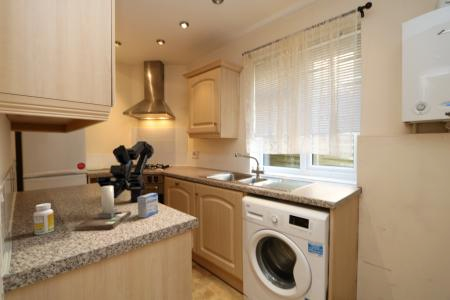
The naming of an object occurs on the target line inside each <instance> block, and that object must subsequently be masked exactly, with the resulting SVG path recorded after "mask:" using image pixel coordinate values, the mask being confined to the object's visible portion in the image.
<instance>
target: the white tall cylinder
mask: <svg viewBox="0 0 450 300" xmlns="http://www.w3.org/2000/svg"><path fill="white" fill-rule="evenodd" d="M100 194H101V196H100V197H101V211H100V212H98V213H97V214H98V215H99V218H112V217H114V216H115V215H117V214H122V212H123V211H118V209H117V208H116V209H115V198H114V188H113V186H103V187H100ZM117 212H119V213H117Z"/></svg>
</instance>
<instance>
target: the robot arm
mask: <svg viewBox="0 0 450 300" xmlns="http://www.w3.org/2000/svg"><path fill="white" fill-rule="evenodd" d="M154 150H155V149H154V147H153V145H151V144H149V143H148V142H147V141H143V140H141V141H137V142H136V144H134V145H133V146H132V147H128V148H126V147H125V145H124V144H120V145H119V146H118V147H115V148H114V149H113V150H112V154H113V156H114V157H115V160H116V162H117V163H119V164H114V165H113V164H112V165H110V169H109V174H111V175H112V177H111V178H109V176H107V175H105V176H104V175H103V176H98V177H97V179H96V183H97V184H98V185H99V187H100V188H101V187H103V186H113V188H114V199H117V198H119V197H120V195H122V193H124V192H125V191H127V192H128V191H129V193H130V199H129V202H130V203H138V199H137V197H140V196H143V192H142V191H143V190H146V182H145V181H144V179H143V178H144V177H143V174H144V171H145V168H146V165H147V162H148V160H149V159H150V158H152V157H153V154H154V152H155V151H154ZM134 161H137V162H136V164H135V165H134ZM133 168H134V170H133V171H132V169H133Z"/></svg>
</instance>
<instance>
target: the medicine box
mask: <svg viewBox="0 0 450 300" xmlns="http://www.w3.org/2000/svg"><path fill="white" fill-rule="evenodd" d="M158 195H159V194H158V193H157V192H149V193H146V194H142V196H140V197H137V199H138V202H137V217H138V218H142V219H144V218H145V219H147V218H150V217H152V216H154V215H156V214H157V213H159V199H158V198H159V196H158Z"/></svg>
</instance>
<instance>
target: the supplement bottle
mask: <svg viewBox="0 0 450 300" xmlns="http://www.w3.org/2000/svg"><path fill="white" fill-rule="evenodd" d="M51 206H52V205H51V203H50V202H45V203H41V204H37V205H35V210H36V211H35V212H34V213H33V229H34V230H33V232H34V235H46V234H48V233H51V232H53V231H54V229H55V222H54V221H55V218H54V210H53V209H51Z"/></svg>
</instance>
